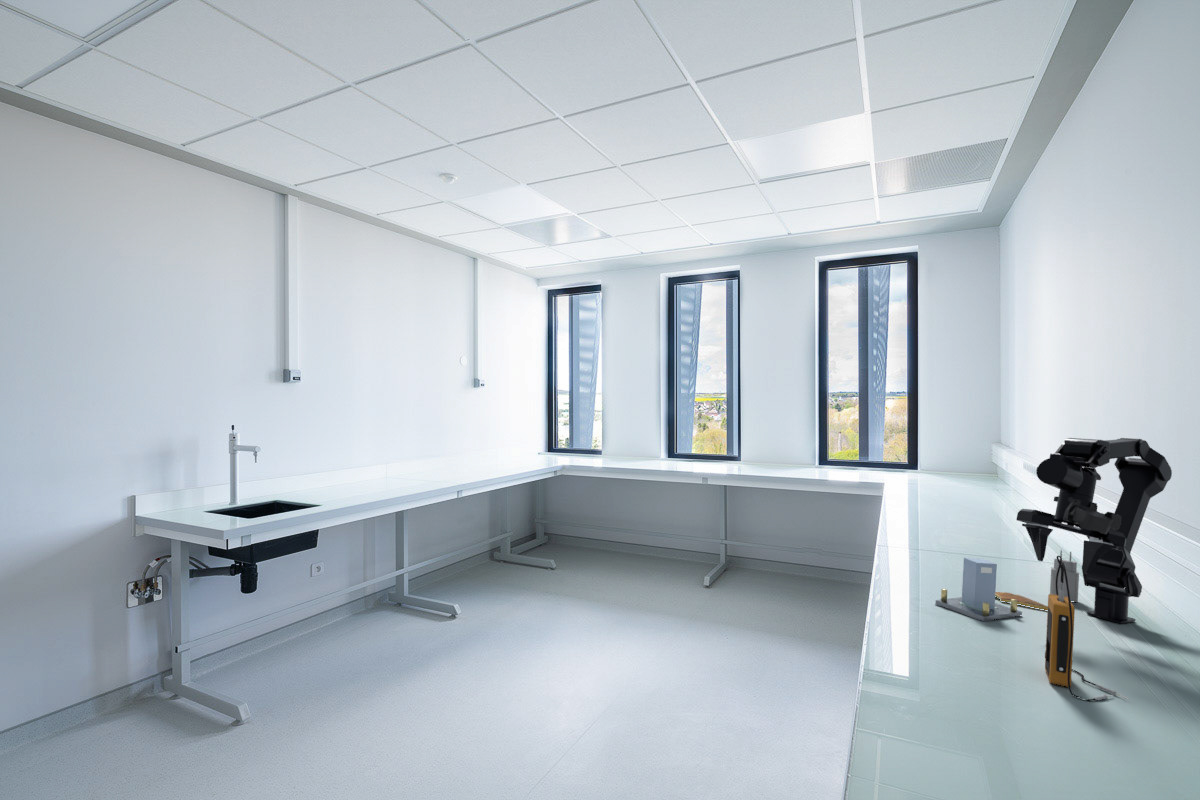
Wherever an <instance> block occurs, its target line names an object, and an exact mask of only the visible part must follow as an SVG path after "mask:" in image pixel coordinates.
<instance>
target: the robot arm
mask: <svg viewBox="0 0 1200 800" xmlns="http://www.w3.org/2000/svg"><path fill="white" fill-rule="evenodd" d="M1134 457H1137V458H1134ZM1112 459H1113V460H1114V459H1116V460H1115V462H1114V467H1115V468H1116V470H1117V471H1118V473H1119V474H1118V479H1119V482H1120V483H1121V485H1122V488H1123V489H1122V491H1121V495H1120V497H1119V500H1118V502H1117V505H1116V508H1115V511H1114V512H1111V511H1107V512H1105V513H1103V512H1099V511H1098V503H1096V502H1093V500H1094V496H1095V491H1096V486H1097V481H1102V476H1101V474H1100V473H1098V471H1097V470H1096V468H1098V467H1102V466H1105V465H1107V464H1109V463H1110V461H1111V460H1112ZM1172 471H1173V470H1172V467H1171V465H1170V463H1169V461H1168V460H1167V459H1166V457H1165V456H1164V455H1162V454H1161V453H1159V452H1158V451H1156V450H1155V449H1153V448H1152V447H1150V445H1149V443H1148V442H1147V441H1146V440H1145V439H1144V440H1143V439H1142V438H1128V437H1121V438H1117V439H1109V440H1108V439H1106V440H1103V439H1093V438H1077V437H1076V438H1075V437H1067V438H1065V440H1064V441H1063V442H1062V443H1061V444H1060V446H1058V448H1057V449H1056V451H1055V452H1054V453H1053V452H1052V453H1050V454H1049V458H1047V459H1044V460H1042V461H1041V462H1040V463H1038V466H1037V467H1036V476H1037V478H1038V480H1039V481H1040V482H1042V483H1044V484H1046V485H1047V486H1051V487H1053V488H1055V489H1058V490H1059V492H1058V496H1054V499H1053V502H1056V508H1055V513H1054V514H1052V513H1049V512H1045V511H1042V510H1037V509H1030V508H1029V509H1028V508H1022V509H1020V510H1019V511H1018V512H1017V515H1016V521H1017V522H1021V527H1024V528H1025V529H1026V531H1027V533H1028V536H1029V538H1030V540H1031V544H1032V546H1033V550H1034V552H1035V555H1036V558H1037V560H1038V562H1044V558H1045V555H1046V550H1047V543H1048V539H1049V538H1048V537H1049V536H1050V535H1051V533H1052V532H1053V531H1054V529H1053V528H1056V529H1060V530H1063V531H1068V532H1071V533H1075V534H1078V535H1083V536H1086V538H1087V539H1088V540H1083V550H1082V565H1081V572H1082V578H1083V582H1084V583H1083V584H1084V586H1085V587H1090V588H1094V589H1095V590H1094V606H1093V608H1094V609H1093V610H1088V611H1086V613H1085V614H1086V615H1090V616H1093V617H1095V618H1099V619H1102V620H1107V621H1109V622H1113V623H1116V624H1120V625H1123V624H1127V623H1133V622H1136V619H1135V618H1133V617H1131V616H1129V598H1131V597H1133V598H1140V596H1141V593H1142V589H1143V585H1142V583H1141V581H1140V579H1139V577H1138V576H1137V574H1136V572H1135V571H1136V565H1135V562H1134V560H1133V557H1132V555H1131V551H1132V549H1133V547H1134V544H1135V542H1136V538H1137V536H1138V533H1139V531H1140V527H1141V526H1142V522H1143V519H1144V516H1145V514H1146V511H1147V508H1148V505H1149V503H1150V500H1151V499H1152V498H1153V497H1155V496H1156V495H1158V494H1160V493H1162V492H1163V491H1165V490H1164V489H1165V488H1166V486H1167V484H1168V482H1169V481H1170V480H1171V478H1172V473H1173V472H1172ZM1049 527H1052V528H1049Z"/></svg>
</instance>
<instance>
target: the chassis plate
mask: <svg viewBox="0 0 1200 800" xmlns="http://www.w3.org/2000/svg"><path fill="white" fill-rule="evenodd" d="M940 591H941V593H940V599H936V600H935V606H938V605H939V606H938V607H941V606H942V607H941V608H944V607H945V608H944V609H947V608H948V610H949V609H951V610H950V611H952V610H954V611H953V612H955V611H956V612H955V613H958V614H962V615H964V616H967V617H969V618H972V619H975V620H978V621H980V620H982V621H981V622H983V621H984V622H989V621H988V620H992V621H997V620H996V619H999V620H1003V619H1002V618H1006V619H1010V618H1009V617H1013V618H1016V617H1015V616H1020V615H1022V616H1023V612H1022V611H1020V610H1018V605H1017V600H1015V599H1011V604H1009V605H1010V607H1009V606H1005V605H1002V604H1000V603H996V602H995V609H989V605H990V604H989V603H986V602H983V609H980V608H973V607H971V606H969V605H967V604H966V603H964V602H962V596H961V597H952V598H948V589H945V588H941V590H940ZM1020 617H1021V616H1020ZM994 619H995V620H994Z"/></svg>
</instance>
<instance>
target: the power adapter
mask: <svg viewBox="0 0 1200 800" xmlns="http://www.w3.org/2000/svg"><path fill="white" fill-rule="evenodd" d="M1059 556H1061V558H1062V562H1063V563H1064V565H1065V569H1066V574H1067V580H1068V586H1069V593H1070V601H1074V602H1078V603H1079V588H1080V587H1079V586H1080V584H1079V583H1080V582H1079V581H1080V572H1079V571H1077V568H1078V567H1077V565H1078V562H1076V561H1074V560H1072V551H1069V559H1063V551H1062V549H1060V553H1059ZM1059 560H1060V558H1059ZM1061 565H1062V563H1061ZM1058 567H1059V562H1058V560H1057V558H1054V559H1053V567H1051V568H1050V583H1049V585H1050V587H1049V594H1053V595H1057V594H1056V575H1057V571H1058ZM1060 581H1061V567H1060V570H1059V574H1058V582H1057V586H1058V595H1059V589H1060ZM1063 583H1064V586H1063V587H1064V588H1063V589H1064V597H1068V593H1067V586H1066V580H1065V574H1064V580H1063Z"/></svg>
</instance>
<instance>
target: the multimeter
mask: <svg viewBox="0 0 1200 800" xmlns="http://www.w3.org/2000/svg"><path fill="white" fill-rule="evenodd" d="M1056 559H1057V560H1058V562H1059V567H1058V571H1057V575H1056V594H1057V595H1053V594H1050V593H1049V594H1048V595H1047V596H1048V597H1047V606H1048V612H1047V617H1046V637H1045V652H1044V660H1045V661H1044V669H1045V670H1046V671H1045V672H1046V676H1047V678H1048V682H1049V684H1052V683H1053V684H1052V685H1056V684H1057V685H1056V686H1060V685H1061V687H1064V686H1066V688H1068V690H1069V693H1070V695H1072V696H1073V695H1074V696H1073V697H1075V696H1076V697H1075V698H1077V697H1080V698H1082V697H1081V696H1079V695H1076V694H1074V693H1073V690H1072V689H1071V687H1072V673H1073V672H1074V671H1075V672H1074V673H1076V672H1077V673H1076V674H1078V675H1080V676H1081V681H1084V682H1085V683H1088V684H1091V685H1092V686H1095V687H1096V688H1099V689H1100V690H1103V691H1105V692H1107V693H1110V694H1109V695H1107V694H1103V695H1100V696H1096V697H1094V698H1091V699H1088V700H1094V701H1095V700H1098V701H1101V700H1102V699H1103V700H1108V699H1109V697H1114V696H1116V695H1117V696H1119V697H1121V698H1124V699H1126V700H1129V698H1128V697H1126V696H1124V695H1122V694H1120V693H1117V691H1116V690H1112V689H1111V688H1110V689H1109V688H1107V687H1105V686H1103V685H1100V684H1097V683H1094V682H1091V681H1088V680H1086V679H1084V678H1085V676H1084V675H1083V673H1081V672H1079V671H1078V670H1076V669H1073V655H1074V654H1073V652H1074V651H1073V649H1074V631H1075V614H1076V611H1075V606H1074V603H1072V602H1071V601H1070V593H1069V586H1068V580H1067V574H1066V569H1065V565H1064V563H1063V562H1062V559H1063V557H1062V558H1061V556H1060V555H1057V556H1056ZM1059 559H1060V560H1059ZM1061 563H1062V565H1061ZM1060 567H1061V581H1060V589H1059V595H1058V586H1057V582H1058V574H1059V570H1060ZM1064 574H1065V580H1066V586H1067V593H1068V597H1064V589H1063V588H1064V587H1063V586H1064V583H1063V580H1064ZM1072 670H1074V671H1072ZM1103 700H1102V701H1103Z"/></svg>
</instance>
